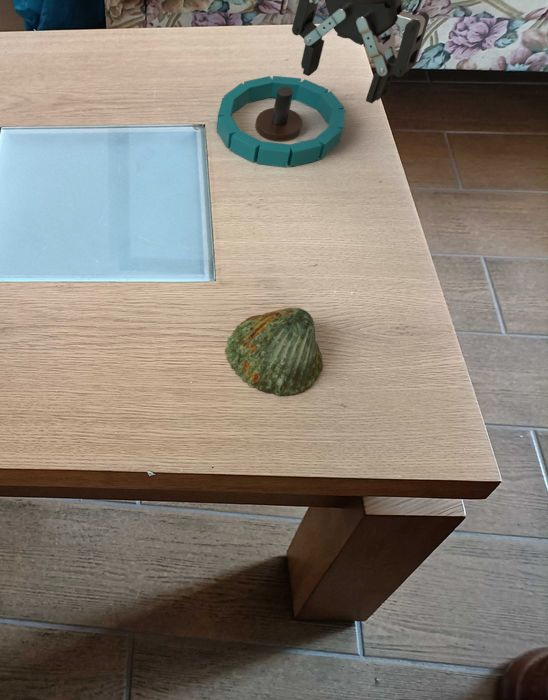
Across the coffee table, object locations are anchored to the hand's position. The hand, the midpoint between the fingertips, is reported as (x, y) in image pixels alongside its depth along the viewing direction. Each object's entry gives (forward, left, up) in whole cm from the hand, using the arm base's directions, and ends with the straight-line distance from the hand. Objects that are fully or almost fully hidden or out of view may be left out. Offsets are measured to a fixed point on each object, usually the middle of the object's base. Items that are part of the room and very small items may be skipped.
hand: (340, 85), depth 80 cm
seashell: (+11, +32, -10) cm, 35 cm away
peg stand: (+5, -5, -9) cm, 12 cm away
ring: (+5, -5, -9) cm, 12 cm away
